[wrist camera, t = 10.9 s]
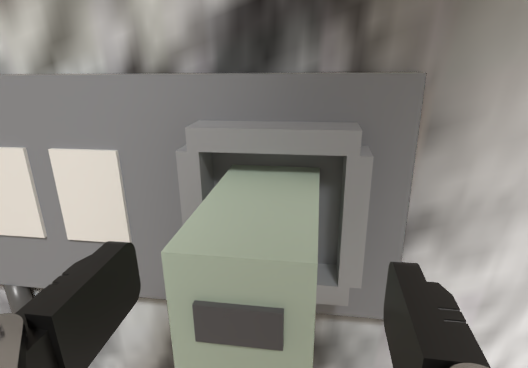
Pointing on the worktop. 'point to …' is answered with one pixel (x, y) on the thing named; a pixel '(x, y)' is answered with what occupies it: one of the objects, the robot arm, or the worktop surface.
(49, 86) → the power strip
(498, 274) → the worktop surface
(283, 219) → the block
